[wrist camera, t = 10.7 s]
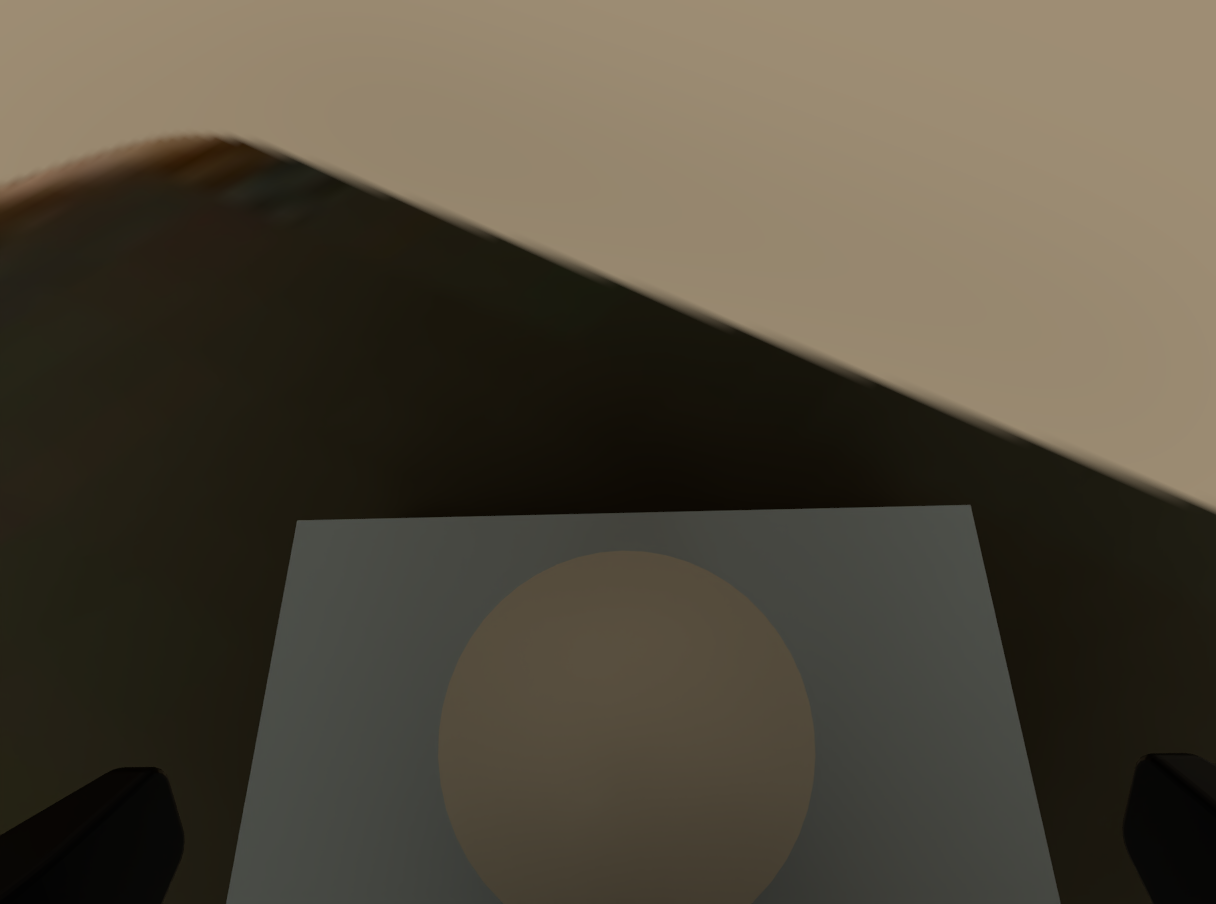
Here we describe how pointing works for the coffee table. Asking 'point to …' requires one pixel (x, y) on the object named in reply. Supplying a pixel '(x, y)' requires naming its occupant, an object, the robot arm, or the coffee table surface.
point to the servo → (641, 715)
